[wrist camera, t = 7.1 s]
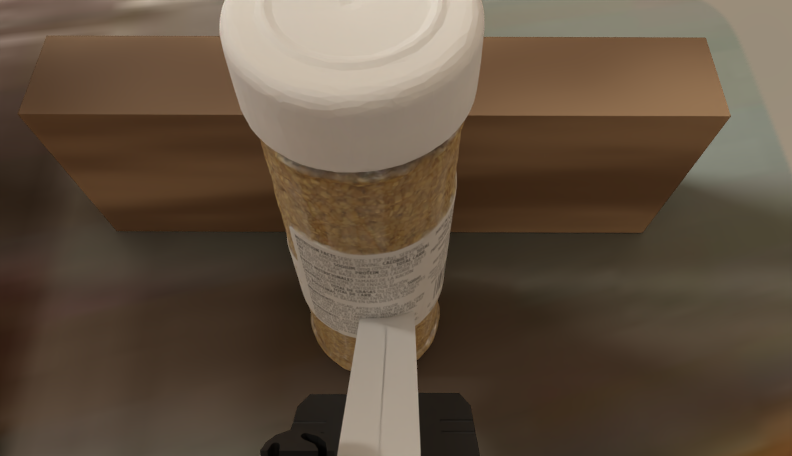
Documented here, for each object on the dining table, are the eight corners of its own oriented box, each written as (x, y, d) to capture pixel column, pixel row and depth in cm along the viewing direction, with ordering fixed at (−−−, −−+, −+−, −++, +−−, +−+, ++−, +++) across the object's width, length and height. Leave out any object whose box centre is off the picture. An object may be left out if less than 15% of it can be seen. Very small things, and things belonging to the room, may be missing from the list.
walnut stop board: (642, 232, 23) (730, 116, 17) (116, 231, 23) (17, 114, 17) (628, 167, 25) (705, 37, 19) (133, 165, 25) (46, 35, 19)
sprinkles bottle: (340, 246, 23) (284, -104, 12) (456, 282, 22) (518, -55, 11) (289, 356, 21) (159, 56, 10) (416, 400, 20) (441, 132, 9)
